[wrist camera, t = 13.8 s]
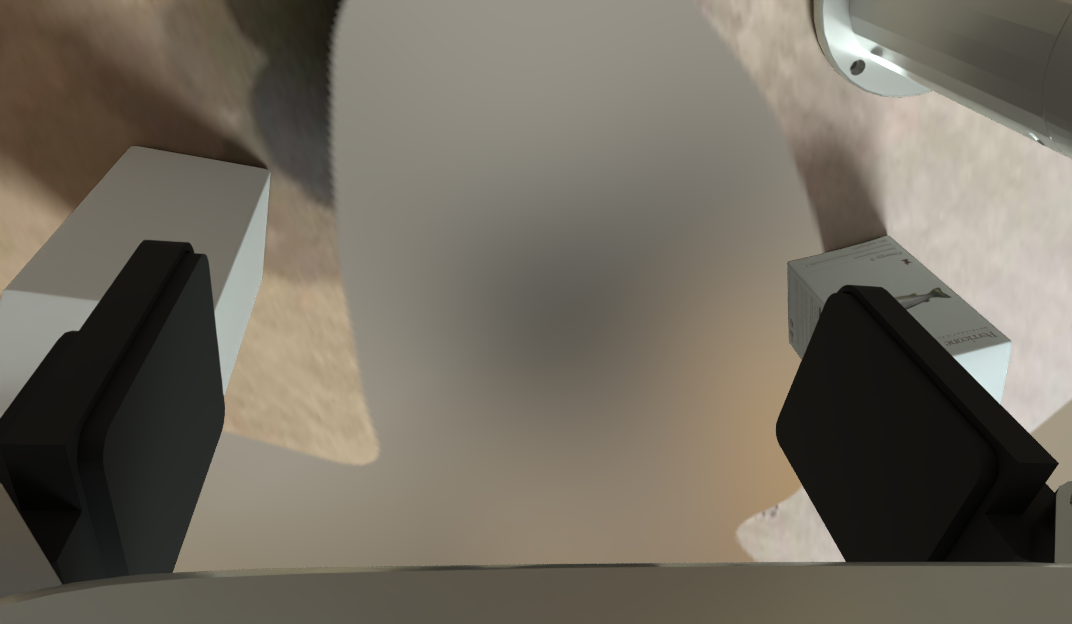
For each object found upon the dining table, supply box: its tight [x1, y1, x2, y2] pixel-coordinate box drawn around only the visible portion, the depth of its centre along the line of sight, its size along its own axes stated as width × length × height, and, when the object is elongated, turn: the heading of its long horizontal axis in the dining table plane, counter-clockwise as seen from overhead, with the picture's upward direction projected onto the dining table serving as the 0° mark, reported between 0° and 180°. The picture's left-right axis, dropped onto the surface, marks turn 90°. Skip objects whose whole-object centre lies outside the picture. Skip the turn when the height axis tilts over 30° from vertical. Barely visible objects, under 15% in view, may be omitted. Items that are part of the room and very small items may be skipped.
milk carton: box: [0, 146, 270, 418], centre depth 34 cm, size 7×7×19 cm
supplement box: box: [788, 236, 1012, 405], centre depth 46 cm, size 7×7×13 cm
